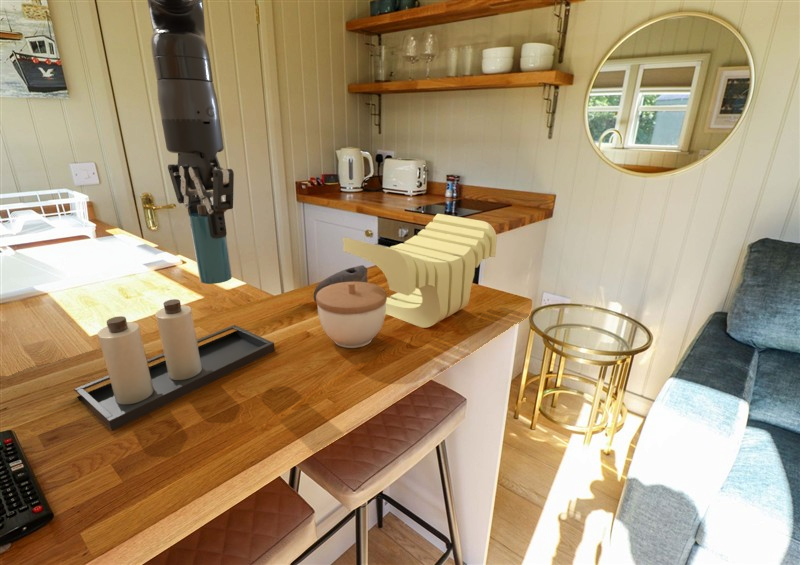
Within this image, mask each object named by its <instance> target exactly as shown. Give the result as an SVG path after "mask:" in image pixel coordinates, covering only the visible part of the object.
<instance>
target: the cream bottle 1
mask: <svg viewBox="0 0 800 565" xmlns="http://www.w3.org/2000/svg"><path fill="white" fill-rule="evenodd" d="M106 325H107V326H105V327H103V328H102V329H100V330H98V332H97V339H98V342H99V346H100V349H101V353H102V356H103V360H104V365H105V368H106V372H107V376H108V375H109V379H108V380H109V383H111V386H112V390H113V393H114V397H115V400H116V402H117V403H119V404H124V405H126V404H134V403H137V402H140V401H142V400H144V399H146V398H148V397H149V396H150V395H151V394H152V393H153V391H154V388H153V384H152V379H151V375H150V371H149V367H150V366H149V363H148V362H147V360H148V359H147V354H146V350H145V345H144V341H143V337H142V332H141V329H140V325H139V324H138V323H137V322H134V321H127V317H126V316H123V315H120V316H114V317H111V318H108V319H107V320H106Z"/></svg>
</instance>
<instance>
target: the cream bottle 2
mask: <svg viewBox="0 0 800 565" xmlns="http://www.w3.org/2000/svg"><path fill="white" fill-rule="evenodd" d="M162 303H163V308H160V309H159V310H157V311H156V312H155V314H154V316H155V319H156V324H157V330H158V334H159V337H160V338H159V339H160V343H161V348H162V352H163V353H164V357H163V358H164V361H165V362H166V367H167V372H168V376H169V378H171V379H173V380H184V379H189V378H192V377H194V376H196V375H197V374H199V373H200V372H201V370H202V365H201V360H200V354H199V349H198V346H199V342H198V343H197V340H198V338H197V334H196V328H195V327H196V326H195V322H194V316H193V311H192V307H191V306H189V305H185V304H181V300H180V299H177V298H176V299H175V298H173V299H169V300H165V301H164V302H162ZM163 353H162V354H163Z"/></svg>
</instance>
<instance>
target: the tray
mask: <svg viewBox="0 0 800 565" xmlns="http://www.w3.org/2000/svg"><path fill="white" fill-rule="evenodd" d="M230 330H234V331H233V332H229V333H227V334H225V335H223V336H219V337H218V338H215V339H213V340H210V341H209V342H205V343H204V344H201V345H198V349H199V354H200V360H201V365H202V370H201V372H200V373H199V374H197V375H196V376H194V377H192V378H189V379H184V380H173V379H171V378H169V376H168V372H167V367H166V362H165V360H162V361H160V362H157V363H155V364H152V365H150V366H149V371H150V375H151V379H152V384H153V388H154V391H153V393H152V394H151V395H150V396H149V397H148V398H146V399H144V400H142V401H140V402H137V403H134V404H126V405H124V404H119V403H117V402H116V400H115V397H114V393H113V390H112V386H111V382H109V383H107V384H103V385H102V386H99V387H97V388H95V389H93V390H90V391H86V390H85V389H89V388H90V387H93V386H95V385H97V384H101V383H103V382H104V381H108V380H110V379H109V375H108V374H107V375H105V376H103V377H101V378H98V379H95V380H93V381H90V382H87V383H86V384H83V385H80V386H78V387H75V388H74V389H73V390H74V391H75V392H76V393H77V394H78V396H76V399H77V400H78V401H79V402H80V403H81V404H82V405H83V406H85V407H86V408H87V409H88V410H89V411H90V412H91V413H92V414H93V415H94V416H95V417H96V418H97V419H98V420H99V421H101V422H102V424H103V425H104V426H106V427H107V428H108V429H109V430H110V431H111V432H112V431H115V430H117V429H119V428H121V427H123V426H125V425H127V424H130V423H131V422H133V421H135V420H138V419H139V418H142V417H144V416H145V415H147V414H149V413H151V412H154V411H156V410H157V409H159V408H162V407H164V406H166V405H168V404H169V403H172V402H173V401H176V400H178V399H181V398H182V397H184V396H186V395H188V394H190V393H192V392H194V391H196V390H198V389H200V388H202V387H205V386H206V385H208V384H210V383H213V382H215V381H216V380H219V379H221V378H222V377H224V376H226V375H227V376H228V375H229V374H231V373H233V372H235V371H236V370H240V369H241V368H243V367H245V366H247V365H249V364H251V363H253V362H255V361H257V360H259V359H260V358H263V357H265V356H267V355H269V354H272V353H273V352H276V350H275V349H276V348H275V342H273V341H271V340H268V339H266V338H264V337H262V336H260V335H258V334H256V333H253V332H251V331H249V330H246V329H244V328H242V327H240V326H238V325H235V324H233V325H230V326H228V327H226V328H223V329H220V330H217V331H216V332H213V333H210V334H208V335H205V336H203V337H200V338H197V343H198V344H199V343H201V342H204V341H205V340H208V339H211V338H213V337H215V336H218V335H220V334H223V333H225V332H227V331H230ZM161 358H164V353H160V354H157V355H156V356H153V357H150V358H148V359H147V362H148V364H149V363H151V362H154V361H157V360H159V359H161Z"/></svg>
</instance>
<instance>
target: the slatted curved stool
mask: <svg viewBox="0 0 800 565" xmlns="http://www.w3.org/2000/svg"><path fill="white" fill-rule="evenodd" d="M497 240H498V238H497V232H496V230H495V229H494V227H493V226H492V225H491V223H489V222H487V221H485V220H480V219H479V220H478V219H473V218H468V217H467V218H466V217H461V216H455V215H448V214H442V213H437V214H436V215H435V216H433V218H432V221H430V222H428V223H427V225H425V227H424V228H422V229H420V231H418V232H417V234H415V235H414V236H412V237H410V238H409V239H407V240H405V241H404V242H403V243H401V242H400V243H399V244H395V245H391V246H389V247H388V246H381V245H377V244H374V243H373V244H372V243H369V242H366V241H361V240H357V239H353V238H350V237H345V236H343V237H342V243H343V252H344V253H348V254H351V255H353V256H356V257H359V258H361V259H364V260H365V261H367V262H370V263H371V264H373V265H374V266H377V268H379V270H380V271H381V272H382V273H383V275H384V276H385V278H386V281H387V285H388V288H389V291H392V292H395V293H394V294H391V295H390V296H387V300H386V313H385V315H387V316H390V317H393V318H395V319H397V320H400V321H403V322H406V323H408V324H410V325H414V326H416V327H418V328H422V329H424V328H430V327H432V326H434V325H436V324H438V323H439V322H441V321H443V320H445V319H446V318H448V317H450V316H452V315H453V314H455V313H458V312H459V311H460V310H463V309H464V308H466V307H467V306H468V305H469V303H470V297H471V291H472V286H473V282H474V279H475V272H476V269H477V268H479V266H480V265H481V263H482V262H483V260H486V259H488V258H496V251H497V242H498V241H497Z"/></svg>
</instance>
